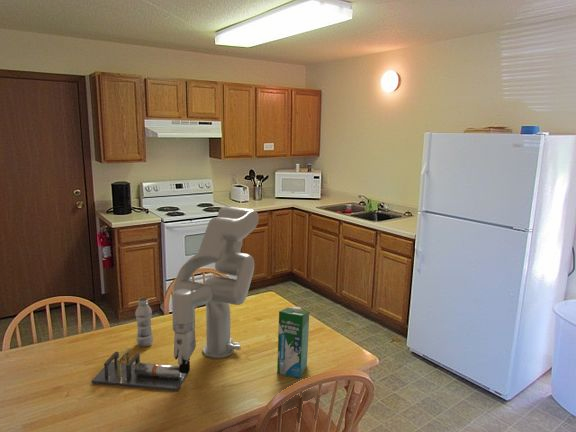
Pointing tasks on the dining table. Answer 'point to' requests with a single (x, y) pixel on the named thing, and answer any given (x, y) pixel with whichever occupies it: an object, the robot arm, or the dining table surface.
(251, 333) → the dining table surface
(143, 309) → the plastic bottle
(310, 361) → the dining table surface
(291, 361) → the milk carton
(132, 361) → the collar
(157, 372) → the tube
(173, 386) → the plate
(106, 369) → the collar
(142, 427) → the dining table surface
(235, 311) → the dining table surface
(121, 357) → the aperture bridge
